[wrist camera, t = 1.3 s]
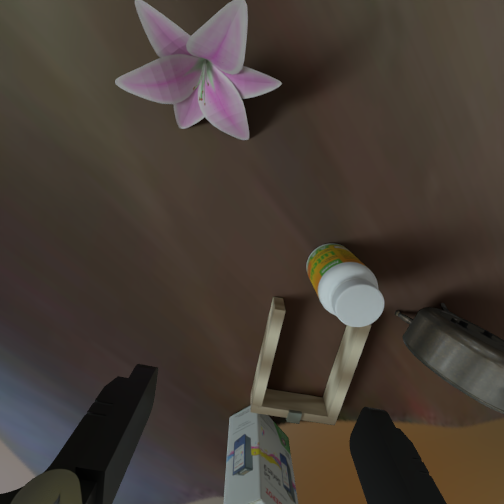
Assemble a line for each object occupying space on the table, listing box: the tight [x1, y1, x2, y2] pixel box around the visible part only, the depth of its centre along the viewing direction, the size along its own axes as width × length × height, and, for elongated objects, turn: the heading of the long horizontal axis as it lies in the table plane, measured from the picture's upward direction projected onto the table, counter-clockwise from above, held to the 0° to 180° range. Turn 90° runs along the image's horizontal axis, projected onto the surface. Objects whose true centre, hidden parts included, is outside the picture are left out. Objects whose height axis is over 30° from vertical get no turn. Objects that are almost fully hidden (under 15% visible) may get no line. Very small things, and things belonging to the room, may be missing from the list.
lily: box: [115, 0, 282, 140], centre depth 22 cm, size 12×12×10 cm
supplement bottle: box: [307, 243, 384, 327], centre depth 27 cm, size 5×5×10 cm
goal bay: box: [250, 297, 371, 425], centre depth 33 cm, size 15×11×3 cm
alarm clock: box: [395, 303, 504, 414], centre depth 25 cm, size 11×5×16 cm, turn 67°
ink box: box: [224, 406, 298, 504], centre depth 33 cm, size 9×5×12 cm, turn 35°
